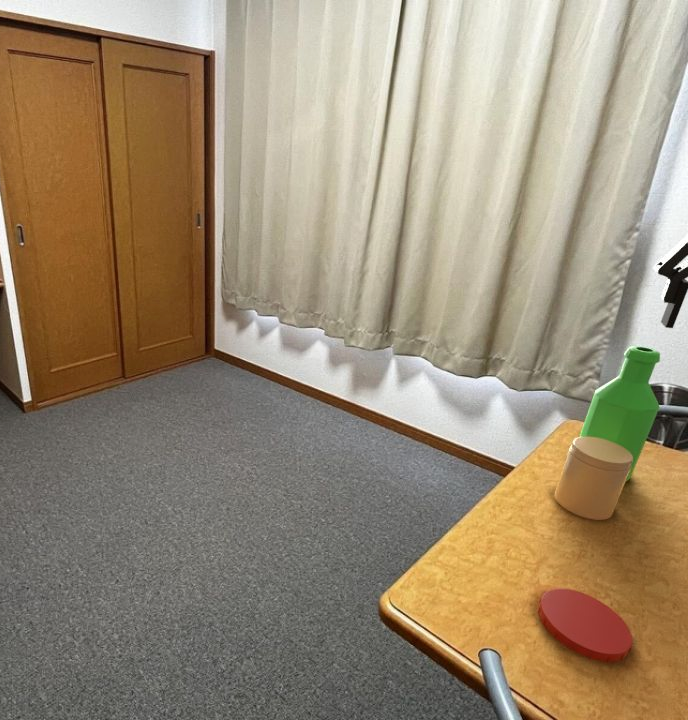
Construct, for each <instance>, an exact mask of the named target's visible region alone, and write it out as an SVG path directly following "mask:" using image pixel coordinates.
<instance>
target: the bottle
mask: <svg viewBox="0 0 688 720" xmlns="http://www.w3.org/2000/svg"><path fill="white" fill-rule="evenodd" d="M623 356H624V357H625V359H624V361H623V364H622V366H621V370H620V373H619V375H618V376H617V377H615V378H613V379H612V380H610V381H609V382H607V383H605V384H603V385H602V386H600V387H598V388H597V389H596V390H595V392H594V393H593V397H592V399H591V401H590V405H589V408H588V411H587V413H586V417H585V419H584V422H583V425H582V427H581V432H580V434H579V437H596V438H601V439H605V440H608V441H611V442H614V443H616V444H618V445H620V446H622V447H624V448H625V449H627V450H628V451H629V452H630V453H631V454H632V456H633V462H632V464H631V469H630V472H629V474H628V477H627V479H626V482H627V481H629V480H630V479H631V478H632V475H633V473H634V470H635V468H636V466H637V463H638V461H639V458H640V456H641V453H642V451H643V449H644V446H645V444H646V441H647V439H648V437H649V434H650V432H651V429H652V427H653V424H654V422H655V419H656V417H657V415H658V412H659V409H660V404H659V402H658V400H657V398H656V396H655V393H654V391H653V389H652V387H651V385H650V383H649V382H650V379H651V377H652V374H653V372H654V369H655V367H656V364H658V363H660V362H661V353H660V352H659V351H658V350H655V349H653V348H651V347H647V346H640V345H635V346H628V348H627V349H626V351H624V353H623Z"/></svg>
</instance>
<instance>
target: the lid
mask: <svg viewBox="0 0 688 720" xmlns="http://www.w3.org/2000/svg"><path fill="white" fill-rule="evenodd" d="M537 612H538V615H539V617H540V620H541V623H542V625H544V627H545V629H546V630H547V631H548V632H549V633H550V634H551V635H552V637H554V638H555V639H556V640H557V641H559V642H560V643H561V644H562V645H564V646H566V647H567V648H568V649H570V650H571V651H573V652H575V653H577V654H578V655H581V656H584V657H586V658H588V659H592V660H595V661H599V662H605V663H610V662H618V661H622V660H624V659H625V658H626V656H627V655H628V654H629V653H630V651H631V649H632V644H633V636H632V632H631V630H630V628H629V626H628V625H627V623H626V622H625V621H624V620H623V619H622V617H621V616H620V615H619V614H618V613H617V612H616V611H614V610H613V609H612V608H611V607H609V605H607V604H606V603H604V602H602V601H600V600H599V599H597V598H595V597H594V596H591V595H589V594H587V593H584V592H581V591H579V590H574V589H570V588H564V587H563V588H562V587H561V588H560V587H559V588H552V589H549V590H547V591H546V592H545V593H543V595H542V597H541V598H540V601H539V605H538V610H537Z"/></svg>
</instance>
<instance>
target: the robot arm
mask: <svg viewBox="0 0 688 720" xmlns="http://www.w3.org/2000/svg"><path fill="white" fill-rule="evenodd" d="M687 257H688V234H686V235H685V236H684V237H683V238H681V240H680V241H679V242H678V243H676V245H675V246H674V247H672V248H671V249H670V250H669V252H667V253H666V254H665V255H664V256H663V257H662V258H661V259H660V260H659V261H658V262H657V263H655V264H654V266H653V271H655V272H656V274H658V275H660V276H663V277H666V282H665V285H664V287H663V290H662V292H661V295H660V298H661V301H662V302H663V303H664V304H666V307H665V309H664V313H663V315H662V318H661V320H660V323H661V324H662V325H663V326H664V328H666V329H674V326H675V324H676V321H677V319H678V316H679V314H680V311H681V308H682V306H683V303H684V302H685V301H684V300H685V299H686V297H687V296H686V295H687V293H688V280H687V278H688V259H687V260H685V259H686V258H687ZM683 260H685V261H684V262H683ZM680 263H681V264H680Z"/></svg>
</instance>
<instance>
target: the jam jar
mask: <svg viewBox="0 0 688 720" xmlns="http://www.w3.org/2000/svg"><path fill="white" fill-rule="evenodd" d="M632 462H633V456H632V454H631V453H630V452H629V451H628V450H627V449H625V448H624V447H622V446H620V445H618V444H616V443H614V442H611V441H608V440H605V439H601V438H596V437H580V436H578V437H576V438H574V439H573V440H572V442H571V446H570V447H569V449H568V452H567V455H566V458H565V461H564V465H563V467H562V470H561V474H560V476H559V478H558V482H557V485H556V488H555V491H554V494H553V496H554V499H555V501H556V503H558V504H559V505H560V506H561V507H562V508H564V509H565V510H567V511H568V512H570V513H572V514H574V515H576V516H578V517H579V516H580V517H582V518H586V519H589V520H597V521H601V520H608V519H610V518H612V516H613V514H614V512H615V510H616V509H615V508H616V506H617V503H618V502H619V499H620V496H621V494H622V491H623V490H624V489H623V488H624V487H625V484H626V482H627V481H626V479H627V477H628V474H629V472H630V469H631V464H632Z"/></svg>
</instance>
